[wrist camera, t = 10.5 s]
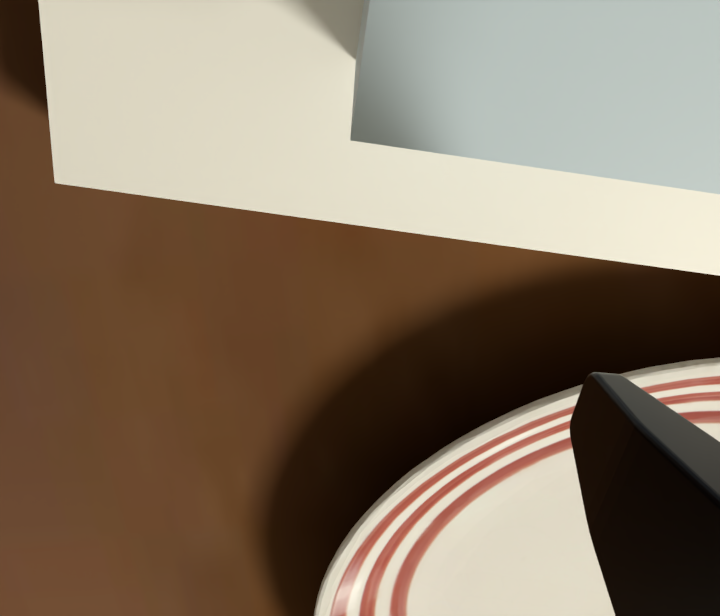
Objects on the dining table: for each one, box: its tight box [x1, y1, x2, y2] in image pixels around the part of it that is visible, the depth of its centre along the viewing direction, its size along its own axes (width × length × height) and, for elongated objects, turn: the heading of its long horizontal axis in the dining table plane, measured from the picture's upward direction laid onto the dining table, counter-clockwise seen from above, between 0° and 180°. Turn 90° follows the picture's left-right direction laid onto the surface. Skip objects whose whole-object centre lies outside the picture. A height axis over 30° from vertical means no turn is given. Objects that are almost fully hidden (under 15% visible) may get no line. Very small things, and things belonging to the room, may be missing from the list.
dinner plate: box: [314, 358, 720, 616], centre depth 28 cm, size 28×27×3 cm
